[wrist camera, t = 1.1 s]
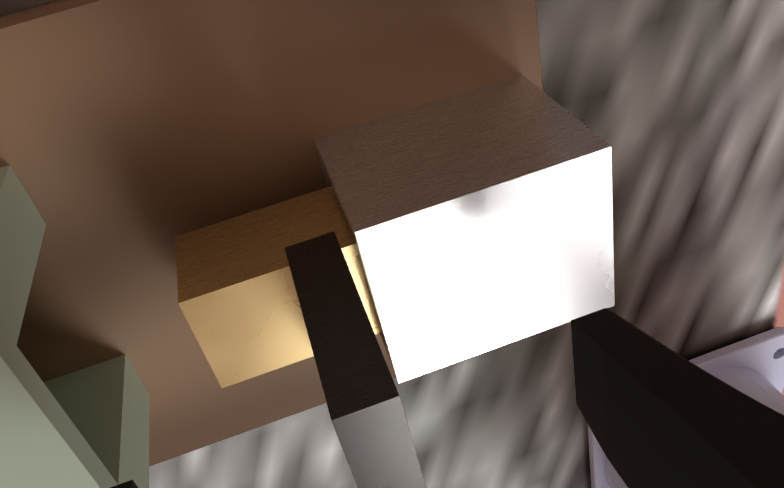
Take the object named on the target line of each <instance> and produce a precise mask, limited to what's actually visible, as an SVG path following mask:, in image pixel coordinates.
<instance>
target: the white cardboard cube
mask: <svg viewBox="0 0 784 488" xmlns="http://www.w3.org/2000/svg"><path fill="white" fill-rule="evenodd" d="M314 141H315V144H316V148H317V151H318V154H319V158H320V161H321V164H322V167H323V171H324V174H325V177H326V181H327V184H328V187H329V186H332V187H333V189H334V191H335V194H336V196H337V198H338V201H339V203H340V205H341V208H342V210H343V212H344V215H345V217H346V219H347V221H348V224H349V226H350V228H351V231H352V233H353V235H354V238H355V241H356V244H357V248H358V251H359V254H360V258H361V261H362V265H363V268H364V271H365V275H366V278H367V282H368V285H369V289H370V292H371V295H372V299H373V302H374V306H375V309H376V313H377V316H378V319H379V323H380V326H381V330H382V332H381V333H379V336H380V338H381V341H382V343H383V346H384V348H385V351H386V353H387V356H388V358H389V361H390V363H391V366H392V368H393V371H394V373H395V376H396V378H397V381H398V383H402V382H404V381H407V380H410V379H413V378H416V377H418V376H421V375H424V374H427V373H429V372H432V371H435V370H438V369H440V368H443V367H446V366H449V365H452V364H454V363H457V362H460V361H463V360H465V359H468V358H471V357H474V356H476V355H479V354H482V353H485V352H488V351H490V350H493V349H496V348H499V347H501V346H504V345H507V344H510V343H513V342H515V341H518V340H521V339H524V338H526V337H529V336H532V335H535V334H537V333H540V332H543V331H546V330H549V329H551V328H554V327H557V326H560V325H562V324H565V323H568V322H571V320H573V319H576V318H579V317H582V316H584V315H587V314H590V313H593V312H595V311H598V310H601V309H604V308H610V307H612V306H615V298H614V248H613V198H612V148H611V146H610V145H609V144H608V143H606V142H605V141H604V140H603V139H601V138H600V137H599V136H598V135H597V134H595V133H594V132H593V131H592V130H590V129H589V128H588V127H587V126H585V125H584V124H583V123H582V122H580V121H579V120H578V119H577V118H575V117H574V116H573V115H572V114H570V113H569V112H568V111H567V110H566V109H564V108H563V107H562V106H561V105H559V104H558V103H557V102H556V101H554V100H553V99H552V98H551V97H549V96H548V95H547V94H546V93H544V92H543V91H542V90H541V89H539V88H538V87H537V86H536V85H535V84H533V83H532V82H531V81H530V80H528V79H527V78H526V77H525V76H523V75H522V74H519V75H515V76H512V77H509V78H506V79H503V80H500V81H496V82H493V83H490V84H487V85H484V86H481V87H478V88H474V89H471V90H468V91H465V92H462V93H459V94H456V95H452V96H449V97H446V98H443V99H440V100H437V101H434V102H430V103H427V104H424V105H421V106H418V107H415V108H411V109H408V110H405V111H402V112H399V113H396V114H393V115H389V116H386V117H383V118H380V119H377V120H374V121H371V122H367V123H364V124H361V125H358V126H355V127H352V128H349V129H345V130H342V131H339V132H336V133H333V134H330V135H326V136H323V137H320V138H317V139H314Z"/></svg>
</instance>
